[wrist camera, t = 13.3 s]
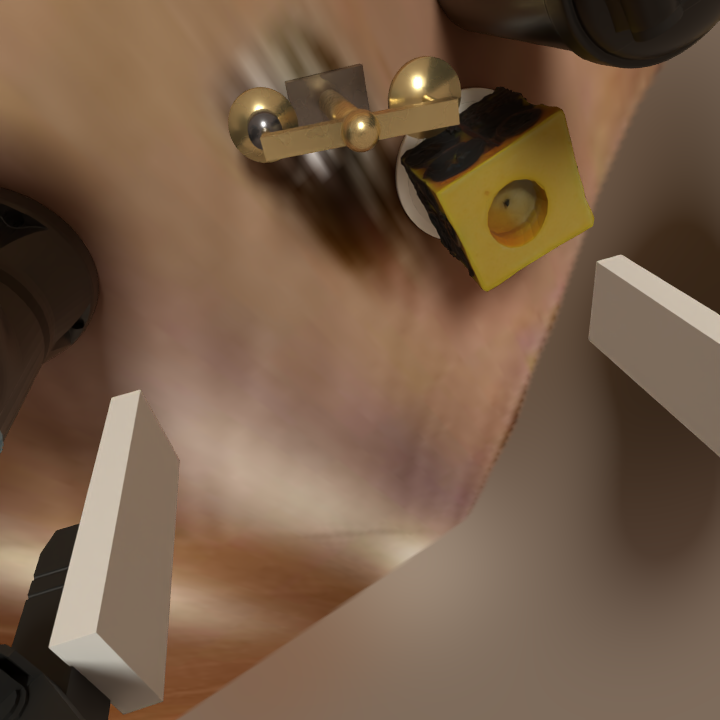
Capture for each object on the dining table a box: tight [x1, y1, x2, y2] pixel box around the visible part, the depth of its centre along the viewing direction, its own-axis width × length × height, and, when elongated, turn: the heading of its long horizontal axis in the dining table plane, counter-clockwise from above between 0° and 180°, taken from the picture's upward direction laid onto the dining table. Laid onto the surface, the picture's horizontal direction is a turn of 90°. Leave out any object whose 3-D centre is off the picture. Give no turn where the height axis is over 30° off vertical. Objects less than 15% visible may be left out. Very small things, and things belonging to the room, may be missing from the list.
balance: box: [228, 56, 461, 163], centre depth 36 cm, size 16×5×14 cm, turn 100°
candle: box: [400, 87, 594, 291], centre depth 42 cm, size 10×10×10 cm
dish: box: [395, 87, 494, 239], centre depth 47 cm, size 13×13×1 cm
